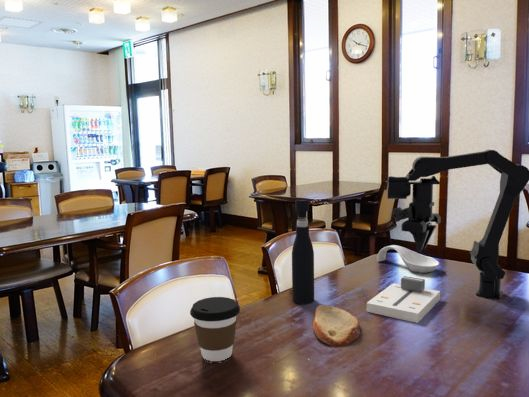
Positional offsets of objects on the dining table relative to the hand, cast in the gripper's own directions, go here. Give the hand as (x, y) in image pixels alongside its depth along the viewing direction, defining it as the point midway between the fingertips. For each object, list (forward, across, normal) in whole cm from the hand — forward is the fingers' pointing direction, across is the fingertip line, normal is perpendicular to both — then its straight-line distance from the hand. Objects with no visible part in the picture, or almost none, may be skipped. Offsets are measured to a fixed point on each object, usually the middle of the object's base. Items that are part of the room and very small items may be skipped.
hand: (421, 250), depth 138 cm
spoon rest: (+14, -23, -12) cm, 30 cm away
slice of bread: (+14, +38, -10) cm, 42 cm away
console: (+13, +14, 0) cm, 19 cm away
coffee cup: (+13, +66, -24) cm, 71 cm away
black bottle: (+13, +26, -26) cm, 39 cm away
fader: (+10, +7, 0) cm, 12 cm away
